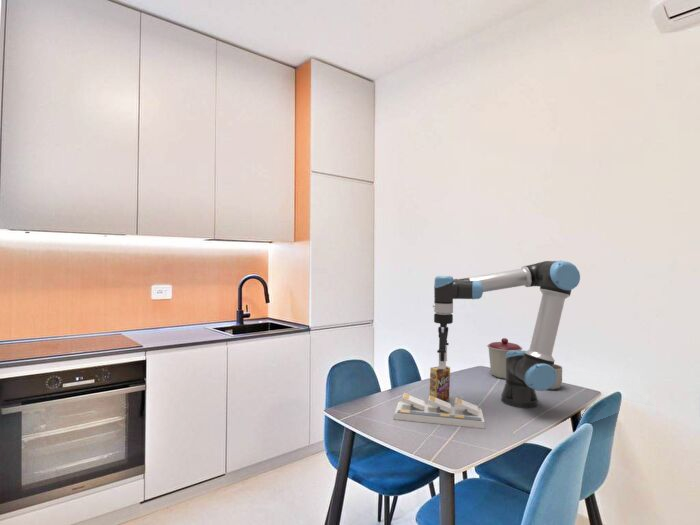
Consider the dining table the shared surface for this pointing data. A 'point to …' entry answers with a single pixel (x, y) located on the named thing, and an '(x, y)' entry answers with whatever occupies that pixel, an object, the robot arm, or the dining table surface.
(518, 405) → the robot arm
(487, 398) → the dining table surface
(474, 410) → the rocker
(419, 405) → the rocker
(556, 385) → the planter
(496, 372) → the canister
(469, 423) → the switch board
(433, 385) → the candy box
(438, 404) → the rocker
